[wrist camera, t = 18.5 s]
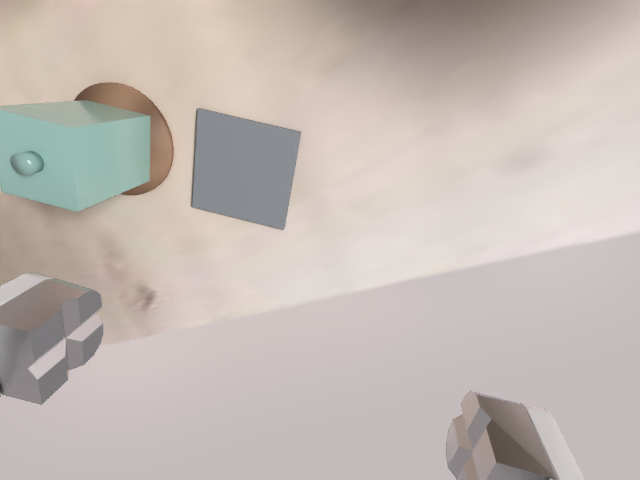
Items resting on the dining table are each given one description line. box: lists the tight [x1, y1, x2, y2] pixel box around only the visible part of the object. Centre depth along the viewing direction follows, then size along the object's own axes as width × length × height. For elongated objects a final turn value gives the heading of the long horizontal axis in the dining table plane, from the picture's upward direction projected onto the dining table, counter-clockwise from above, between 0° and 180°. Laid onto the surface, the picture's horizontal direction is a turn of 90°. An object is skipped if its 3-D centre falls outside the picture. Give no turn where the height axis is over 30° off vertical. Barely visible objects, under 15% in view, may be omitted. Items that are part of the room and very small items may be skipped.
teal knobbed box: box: [0, 100, 150, 212], centre depth 32 cm, size 7×7×11 cm
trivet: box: [74, 83, 173, 195], centre depth 38 cm, size 11×11×1 cm
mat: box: [192, 108, 301, 230], centre depth 37 cm, size 10×10×1 cm
